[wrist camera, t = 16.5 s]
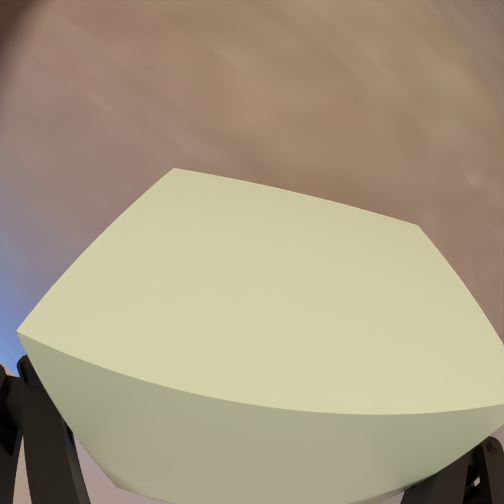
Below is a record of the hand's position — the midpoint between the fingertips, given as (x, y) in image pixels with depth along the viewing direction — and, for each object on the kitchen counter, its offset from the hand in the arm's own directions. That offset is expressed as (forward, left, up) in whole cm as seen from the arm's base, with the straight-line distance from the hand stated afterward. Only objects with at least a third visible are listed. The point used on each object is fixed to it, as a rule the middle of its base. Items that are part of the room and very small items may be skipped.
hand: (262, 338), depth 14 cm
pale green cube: (0, +2, -1) cm, 2 cm away
